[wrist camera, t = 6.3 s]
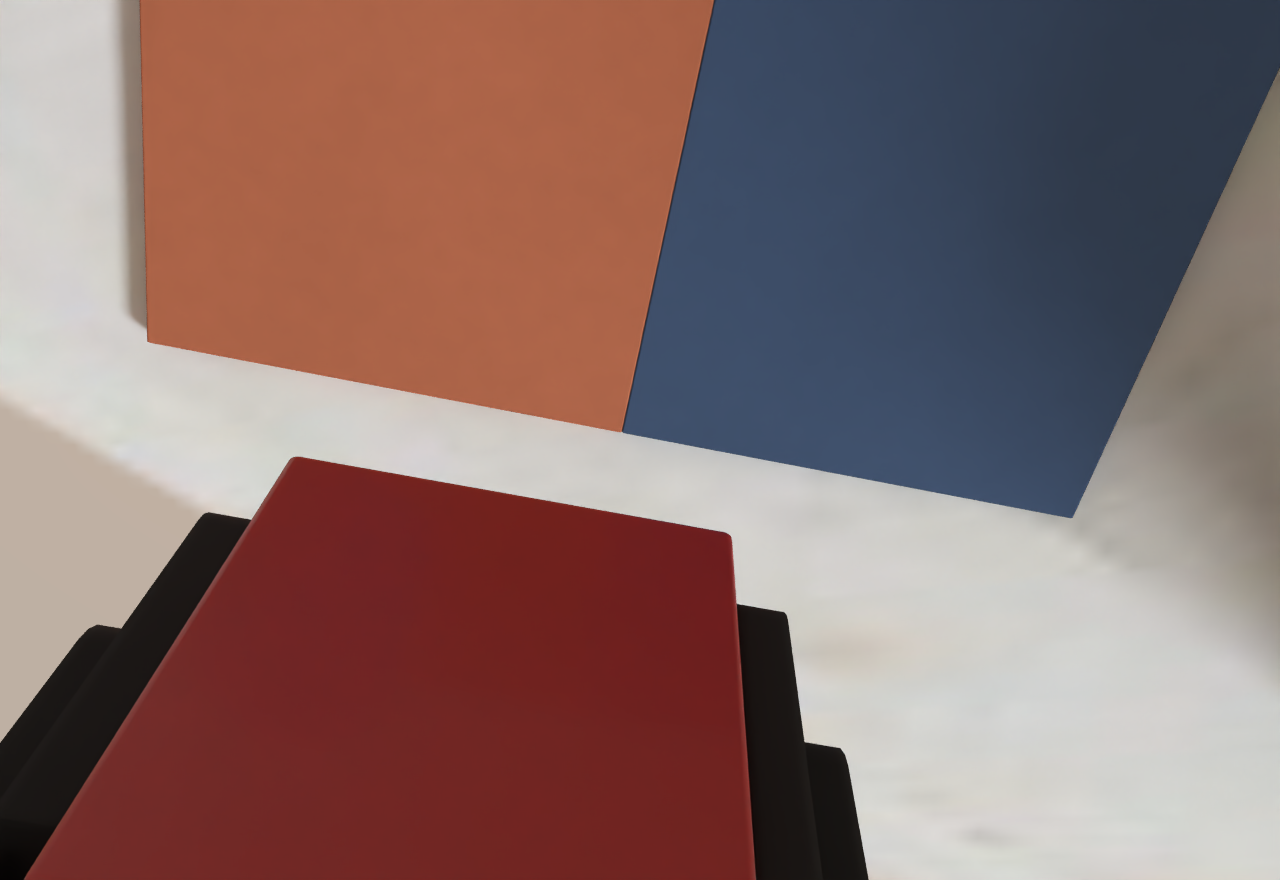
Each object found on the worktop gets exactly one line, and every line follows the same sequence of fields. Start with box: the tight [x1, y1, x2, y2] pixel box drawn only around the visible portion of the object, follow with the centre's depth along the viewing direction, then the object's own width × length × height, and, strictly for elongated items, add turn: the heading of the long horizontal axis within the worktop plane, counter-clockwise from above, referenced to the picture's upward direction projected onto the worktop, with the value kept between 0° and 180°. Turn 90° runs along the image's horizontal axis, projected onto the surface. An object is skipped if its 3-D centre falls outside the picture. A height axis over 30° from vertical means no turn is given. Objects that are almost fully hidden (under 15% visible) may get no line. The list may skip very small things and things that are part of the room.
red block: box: [24, 457, 756, 880], centre depth 10 cm, size 4×4×5 cm
